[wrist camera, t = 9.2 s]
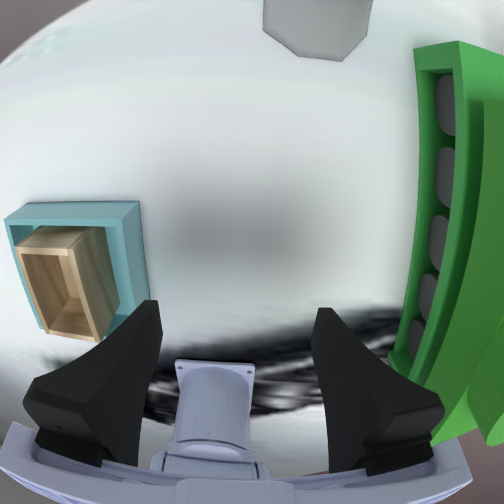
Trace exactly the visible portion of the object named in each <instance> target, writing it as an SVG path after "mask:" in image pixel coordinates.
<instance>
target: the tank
mask: <svg viewBox="0 0 504 504" xmlns="http://www.w3.org/2000/svg"><path fill="white" fill-rule="evenodd" d="M413 51H414V60H415V70H416V80H417V92H418V108H419V141H420V152H419V186H418V202H417V215H416V226H415V235H414V243H413V251H412V258H411V265H410V272H409V278H408V284H407V289H406V295H405V300H404V305H403V310H402V315H401V319H400V324H399V328H398V332H397V337H396V341H395V345H394V349H393V350H392V351H389V352H388V356H387V357H388V359H389V362H390V364H391V366H392V368H393V369H394V370H395V371H396V372H398V373H399V374H401V375H402V376H404V377H406V378H407V379H409V380H411V381H413V382H414V383H416V384H418V385H420V386H422V387H424V388H426V389H429V390H431V391H433V392H435V393H438V395H439V397H440V399H441V401H442V403H443V405H444V408H445V411H446V412H445V415H444V417H443V419H442V420H441V421H440V422H439V424H438V425H437V426H436V427H435V428H434V429H433V430H432V431H431V432H430V433H431V436H432V440H431V441H429V442H430V444H431V447H432V446H434V445H436V444H438V443H440V442H443V441H446V440H449V439H452V438H455V437H457V436H460V435H462V434H464V433H466V432H468V431H470V430H473V429H475V428H477V427H479V429H480V431H481V433H482V435H483V437H484V440H485V442H486V444H487V445H488V446H496V445H498V444H501V443H504V56H502V55H499V54H497V53H494V52H491V51H489V50H486V49H483V48H480V47H477V46H474V45H471V44H468V43H464V42H461V41H453V42H447V43H442V44H436V45H431V46H426V47H422V48H417V49H413Z"/></svg>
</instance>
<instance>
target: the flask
mask: <svg viewBox="0 0 504 504" xmlns="http://www.w3.org/2000/svg"><path fill="white" fill-rule="evenodd" d="M372 3H373V0H264V16H263V30H264V31H265V32H267V33H268V34H269V35H271V36H272V37H274V38H275V39H276V40H278V41H279V42H281V43H282V44H283V45H285V46H286V47H287V48H289V49H290V50H291V51H293V52H294V53H295V54H296V55H298V56H302V57H311V58H320V59H327V60H334V61H341V62H342V61H343V60H344V59H345V58H346V57H347V56H348V55H349V54H350V53H351V51H352V50H353V49H354V48H355V47H356V46H357V45H358V44H359V43H360V42H361V41H362V40H363V39H364V38H365V37H366V36H367V32H368V24H369V17H370V12H371V8H372Z"/></svg>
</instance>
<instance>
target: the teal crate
mask: <svg viewBox="0 0 504 504" xmlns="http://www.w3.org/2000/svg"><path fill="white" fill-rule="evenodd" d="M4 222H5V226H6V230H7V234H8V238H9V242H10V246H11V249H12V253H13V256H14V259H15V263H16V266H17V269H18V272H19V275H20V278H21V281H22V284H23V287H24V290H25V292H26V295H27V298H28V300H29V303H30V305H31V308H32V310H33V313H34V315H35V318H36V320H37V322H38V325H39V327H40V329H44V327H43V325H42V322H41V320H40V318H39V315H38V313H37V311H36V308H35V306H34V303H33V301H32V298H31V295H30V293H29V290H28V287H27V285H26V282H25V279H24V276H23V273H22V270H21V267H20V264H19V261H18V258H17V254H16V251H15V246H16V245H17V244H18V243H19V242H20V241H22V240H23V239H24V238H25V237H26V236H28V235H29V234H30V233H31V232H32V231H34V230H35V229H36V228H37V227H39V226H40V225H54V226H105V230H106V236H107V242H108V248H109V253H110V258H111V263H112V268H113V273H114V278H115V282H116V287H117V291H118V295H119V300H120V305H119V307H118V309H117V311H116V313H115V315H114V317H113V319H112V321H111V323H110V325H109V327H108V329H107V331H106V333H105V335H104V338H103V340H104V339H105V338H106V337H107V336H108V335H110V334H111V333H112V332H113V331H114V330H115V329H116V328H117V327H118V326H119V325H120V324H121V323H122V322H123V321H124V320H125V319H126V318H127V317H128V316H129V315H130V314H131V313H132V312H133V311H134V310H135V309H136V308H137V307H138V306H139V305H140V304H141V303H142V302H143V301H144V300H150V294H149V287H148V280H147V273H146V266H145V258H144V249H143V240H142V231H141V220H140V209H139V201H72V202H38V203H27V204H25V205H24V206H22V207H21V208H19V209H18V210H16V211H15V212H13V213H12V214H11V215H9V216H8V217H6V218H5V219H4Z"/></svg>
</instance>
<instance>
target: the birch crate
mask: <svg viewBox="0 0 504 504" xmlns="http://www.w3.org/2000/svg"><path fill="white" fill-rule="evenodd" d="M15 251H16V254H17V258H18V261H19V264H20V267H21V270H22V273H23V276H24V279H25V282H26V285H27V287H28V290H29V293H30V295H31V298H32V301H33V303H34V306H35V308H36V311H37V313H38V315H39V318H40V320H41V322H42V325H43V327H44V329H45V331H46V333H47V334H52V335H58V336H63V337H68V338H74V339H80V340H86V341H92V342H98V343H100V342H102V340H103V338H104V335H105V333H106V331H107V329H108V327H109V325H110V323H111V321H112V319H113V317H114V315H115V313H116V311H117V309H118V307H119V305H120V300H119V295H118V291H117V287H116V282H115V278H114V273H113V268H112V263H111V258H110V253H109V248H108V242H107V236H106V230H105V226H54V225H40V226H39V227H37V228H36V229H35V230H34V231H32V232H31V233H30V234H29V235H28V236H26V237H25V238H24V239H23V240H22V241H20V242H19V243H18V244H17V245H16V246H15Z"/></svg>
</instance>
